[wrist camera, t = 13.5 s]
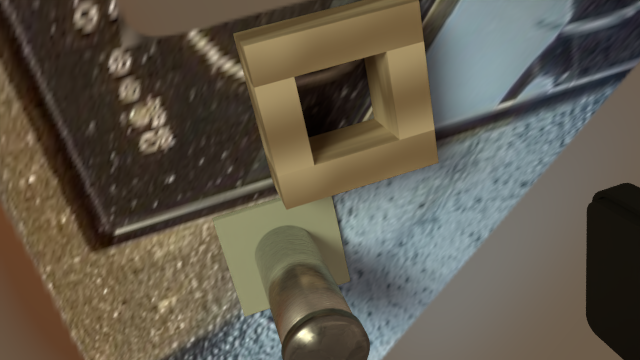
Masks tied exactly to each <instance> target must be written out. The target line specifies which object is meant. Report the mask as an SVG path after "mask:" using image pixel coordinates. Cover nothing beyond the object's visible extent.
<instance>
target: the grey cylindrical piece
mask: <svg viewBox="0 0 640 360" xmlns="http://www.w3.org/2000/svg"><path fill="white" fill-rule="evenodd" d="M255 261H256V265H257V268H258V271H259V274H260V278H261V281H262V284H263V287H264V290H265V294H266V297H267V300H268V303H269V306H270V309H271V313H272V316H273V319H274V322H275V325H276V329H277V332H278V335H279V338H280V341H281V344H282V349H281V354H282V359H283V360H367V358H368V355H369V351H370V342H369V338H368V335H367V333H366V331H365V329H364V328H363V326H362V324H361V322H360V321H359V319H358V318H357V317H356V316H355V315H353V314H352V312H351V310H350V308H349V306H348V304H347V302H346V301H345V299H344V297H343V295H342V293H341V291H340V289H339V287H338V285H337V283H336V282H335V280H334V278H333V276H332V274H331V272H330V270H329V268H328V266H327V264H326V262H325V261H324V259H323V257H322V255H321V253H320V251H319V249H318V247H317V245H316V243H315V242H314V240H313V238H312V236H311V235H310V234H309V233H308V232H307V231H306V230H305V229H303V228H301V227H298V226H293V225H285V226H280V227H277V228H274V229H272V230H271V231H269V232H267V233H266V234H265V235H264V236H263V237H262V238H261V240H260V241H259V243H258V244H257V247H256V250H255Z"/></svg>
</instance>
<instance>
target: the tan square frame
mask: <svg viewBox="0 0 640 360" xmlns="http://www.w3.org/2000/svg"><path fill="white" fill-rule="evenodd" d="M233 35H234V39H235V42H236V46H237V50H238V54H239V57H240V61H241V65H242V68H243V72H244V76H245V80H246V83H247V87H248V91H249V94H250V98H251V102H252V106H253V109H254V113H255V117H256V121H257V124H258V128H259V132H260V135H261V139H262V143H263V147H264V150H265V154H266V158H267V162H268V165H269V169H270V173H271V176H272V180H273V183H274V185H275V187H276V189H277V191H278V193H279V195H280V197H281V200H282V202H283V204H284V206H285V208H286V210H288V209H291V208H294V207H297V206H300V205H304V204H307V203H310V202H313V201H317V200H320V199H323V198H326V197H330V196H333V195H336V194H339V193H342V192H346V191H349V190H352V189H355V188H359V187H362V186H365V185H368V184H371V183H375V182H378V181H381V180H384V179H388V178H391V177H394V176H397V175H401V174H404V173H407V172H410V171H413V170H417V169H420V168H423V167H426V166H430V165H433V164H436V163H438V155H437V146H436V138H435V130H434V121H433V113H432V105H431V97H430V88H429V80H428V72H427V63H426V55H425V47H424V39H423V30H422V22H421V14H420V5H419V1H418V0H362V1H358V2H354V3H350V4H347V5H343V6H339V7H335V8H331V9H327V10H323V11H319V12H315V13H312V14H308V15H304V16H300V17H296V18H292V19H288V20H284V21H280V22H277V23H273V24H269V25H265V26H261V27H257V28H253V29H249V30H245V31H242V32H238V33H234V34H233ZM361 58H364V61H365V66H366V72H367V78H368V84H369V90H370V96H371V102H372V108H373V114H374V119H371V120H368V121H364V122H361V123H357V124H354V125H350V126H347V127H344V128H340V129H337V130H333V131H330V132H326V133H323V134H320V135H316V136H313V137H309V138H308V135H307V131H306V126H305V122H304V117H303V113H302V109H301V104H300V100H299V96H298V91H297V87H296V82H295V78H294V77H296V76H299V75H303V74H307V73H310V72H314V71H318V70H321V69H325V68H329V67H332V66H336V65H340V64H343V63H347V62H350V61H354V60H358V59H361Z"/></svg>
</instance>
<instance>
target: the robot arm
mask: <svg viewBox="0 0 640 360" xmlns="http://www.w3.org/2000/svg"><path fill="white" fill-rule="evenodd" d="M586 266H587V267H586V317H587V321H588V324H589V326H590V327H591V329H592V331H593V332H594V333H595V334H596V335H597V336H598V337H599V338H600V339H601V340H602V341H604V342H605V343H606V344H607V345H608V346H609V347H610V348H611V349H612V350H614V351H615V352H616V353H617V354H618V355H619V356H620V357H621V358H622V359H624V360H640V188H639V187H637V186H635V185H633V184H630V183H623V184H620V185H617V186H614V187H611V188H608V189H605V190H602V191H599V192H597V193H596V194H595V195H594V197H593V200H592V202H591V203H590V204H589V205H588V207H587V260H586Z"/></svg>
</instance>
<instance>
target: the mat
mask: <svg viewBox="0 0 640 360" xmlns="http://www.w3.org/2000/svg"><path fill="white" fill-rule="evenodd" d="M213 222H214V225H215V228H216V231H217V234H218V237H219V240H220V243H221V246H222V249H223V252H224V255H225V258H226V261H227V264H228V267H229V270H230V273H231V276H232V279H233V282H234V285H235V288H236V291H237V294H238V297H239V300H240V303H241V306H242V309H243V312H244V315H245V316H248V315H251V314H254V313H257V312H260V311H263V310H266V309H269V308H270V306H269V303H268V300H267V297H266V294H265V290H264V287H263V284H262V281H261V278H260V274H259V271H258V268H257V265H256V261H255V250H256V247H257V244H258V243H259V241H260V240H261V238H262V237H263V236H264V235H265V234H266V233H267V232H269V231H271V230H272V229H274V228H277V227H280V226H285V225H293V226H298V227H301V228H303V229H305V230H306V231H307V232H308V233H309V234H310V235H311V236H312V238H313V240H314V242H315V243H316V245H317V247H318V249H319V251H320V253H321V255H322V257H323V259H324V261H325V262H326V264H327V266H328V268H329V270H330V272H331V274H332V276H333V278H334V280H335V282H336V283H337V285H340V284H343V283H346V282H349V281H350V277H349V273H348V268H347V264H346V259H345V255H344V250H343V245H342V241H341V236H340V232H339V227H338V223H337V218H336V214H335V209H334V204H333V200H332V196H330V197H326V198H323V199H320V200H317V201H313V202H310V203H307V204H304V205H300V206H297V207H294V208H291V209H288V210H286V208H285V206H284V204H283V202H282V200H281V198H277V199H274V200H271V201H267V202H264V203H261V204H258V205H254V206H251V207H248V208H245V209H241V210H238V211H235V212H231V213H228V214H225V215H222V216H218V217H215V218H213Z"/></svg>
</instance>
